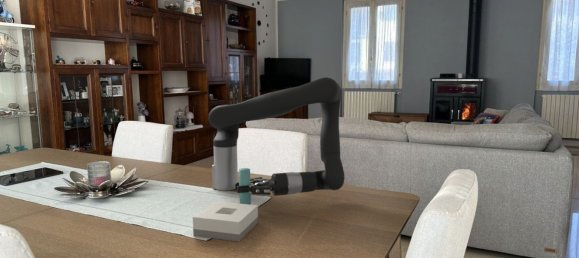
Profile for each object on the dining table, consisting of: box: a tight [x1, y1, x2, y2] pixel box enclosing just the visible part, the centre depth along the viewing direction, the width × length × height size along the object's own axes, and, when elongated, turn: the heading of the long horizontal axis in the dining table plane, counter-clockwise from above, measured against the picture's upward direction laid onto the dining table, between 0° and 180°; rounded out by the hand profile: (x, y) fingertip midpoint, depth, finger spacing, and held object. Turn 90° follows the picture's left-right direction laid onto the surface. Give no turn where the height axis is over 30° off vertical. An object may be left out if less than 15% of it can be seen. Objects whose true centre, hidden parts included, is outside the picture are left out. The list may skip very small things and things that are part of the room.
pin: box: [238, 167, 252, 205], centre depth 128 cm, size 4×4×14 cm
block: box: [192, 201, 259, 242], centre depth 113 cm, size 14×14×6 cm
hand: (236, 187), depth 127 cm, fingers closed on pin, 3 cm apart
